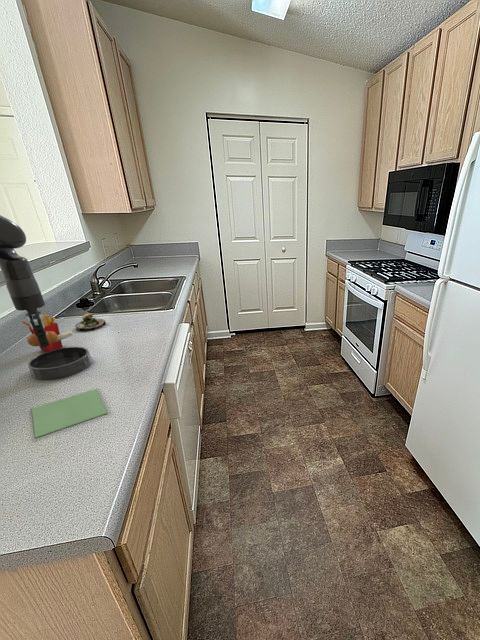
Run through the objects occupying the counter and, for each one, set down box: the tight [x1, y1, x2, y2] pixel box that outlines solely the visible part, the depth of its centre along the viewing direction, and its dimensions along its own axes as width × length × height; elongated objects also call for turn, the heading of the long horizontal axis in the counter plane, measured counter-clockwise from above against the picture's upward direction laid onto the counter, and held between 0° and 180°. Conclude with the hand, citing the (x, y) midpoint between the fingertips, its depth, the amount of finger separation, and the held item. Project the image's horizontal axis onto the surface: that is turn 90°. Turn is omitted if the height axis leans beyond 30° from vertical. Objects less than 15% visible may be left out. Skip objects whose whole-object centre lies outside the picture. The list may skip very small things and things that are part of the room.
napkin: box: [31, 388, 108, 439], centre depth 91 cm, size 16×16×1 cm
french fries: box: [20, 313, 63, 352], centre depth 124 cm, size 9×8×15 cm
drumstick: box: [26, 330, 74, 347], centre depth 109 cm, size 12×4×4 cm, turn 128°
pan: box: [27, 346, 93, 381], centre depth 113 cm, size 17×17×4 cm
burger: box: [75, 313, 107, 332], centre depth 148 cm, size 12×12×8 cm
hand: (44, 343), depth 109 cm, fingers closed on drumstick, 4 cm apart
